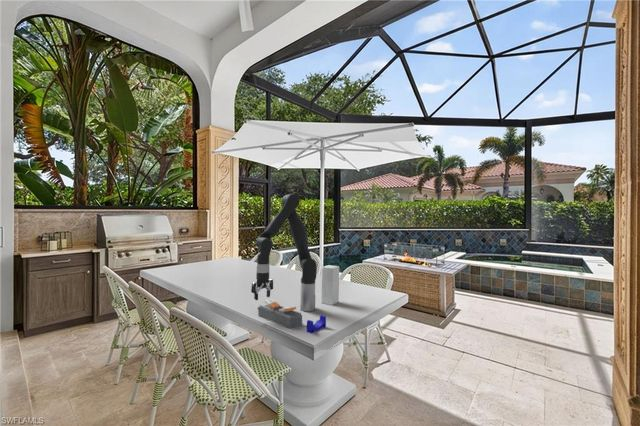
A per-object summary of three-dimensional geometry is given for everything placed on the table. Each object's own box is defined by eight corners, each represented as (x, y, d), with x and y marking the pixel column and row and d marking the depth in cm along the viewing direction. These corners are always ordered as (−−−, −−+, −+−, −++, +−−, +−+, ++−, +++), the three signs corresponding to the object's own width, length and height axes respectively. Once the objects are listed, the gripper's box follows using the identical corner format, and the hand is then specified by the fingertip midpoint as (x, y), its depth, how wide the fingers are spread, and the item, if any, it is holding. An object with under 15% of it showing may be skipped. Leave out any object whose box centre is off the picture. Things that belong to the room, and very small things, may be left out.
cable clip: (319, 325, 170) (319, 314, 169) (325, 327, 167) (326, 316, 166) (304, 331, 160) (304, 319, 160) (310, 333, 158) (311, 322, 157)
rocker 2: (279, 311, 172) (278, 309, 172) (285, 309, 176) (285, 307, 176) (289, 311, 166) (289, 308, 166) (296, 308, 170) (296, 306, 170)
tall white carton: (321, 302, 209) (322, 266, 209) (328, 299, 216) (328, 264, 216) (332, 305, 204) (333, 268, 204) (338, 302, 212) (339, 266, 211)
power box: (252, 313, 186) (252, 303, 186) (264, 309, 192) (264, 300, 192) (290, 328, 163) (290, 317, 163) (302, 324, 170) (302, 313, 170)
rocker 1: (264, 301, 181) (264, 300, 181) (270, 300, 185) (271, 298, 185) (273, 309, 175) (273, 307, 175) (280, 307, 179) (280, 305, 179)
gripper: (268, 268, 188) (267, 294, 188) (249, 271, 177) (248, 299, 177) (276, 270, 183) (275, 297, 183) (256, 273, 172) (256, 302, 172)
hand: (262, 298), depth 180 cm, fingers open, 8 cm apart
